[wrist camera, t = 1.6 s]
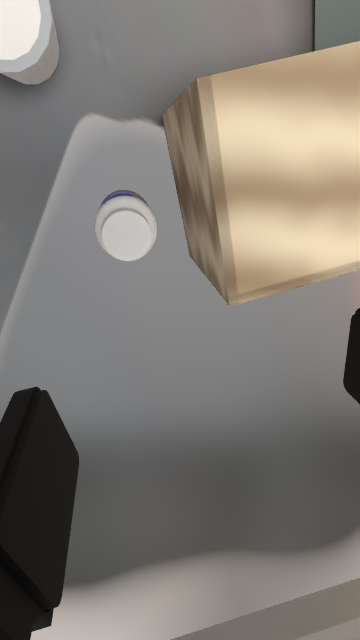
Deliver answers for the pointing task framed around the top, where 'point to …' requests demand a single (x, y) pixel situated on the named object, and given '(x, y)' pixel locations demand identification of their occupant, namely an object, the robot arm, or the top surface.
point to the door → (336, 23)
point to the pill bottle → (125, 225)
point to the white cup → (27, 40)
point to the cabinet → (271, 172)
